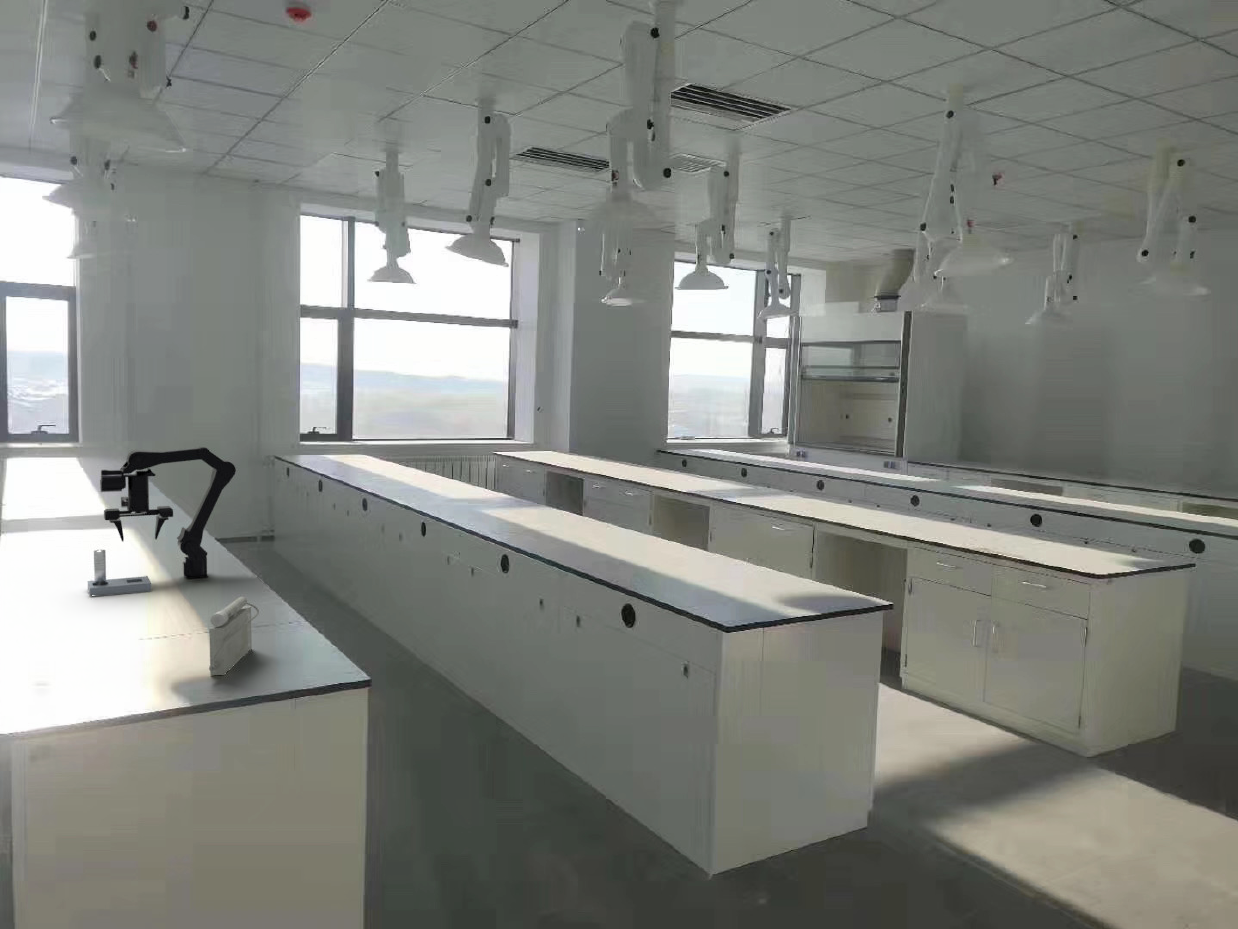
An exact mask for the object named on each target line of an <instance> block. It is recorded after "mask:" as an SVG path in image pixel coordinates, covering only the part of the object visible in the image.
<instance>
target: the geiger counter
mask: <svg viewBox="0 0 1238 929" xmlns="http://www.w3.org/2000/svg"><path fill="white" fill-rule="evenodd" d="M252 607H253V608H254V609H255V610H256V613H255V615H253V616H252ZM259 611H260V610H259V608H258V607H257V606H256V605H254V604H252V603H249V602H248V600H247V598H246V597H245V596H239V597H238V598H236V599H235V600H234V601H232V602H231V603H230V604H228V605H226V606H225V607H224V608H223V609H222V610H218V611H217V612H215V613H214V614H213V615H212V616H211V617H210V621H209V622H210V624H211V625H212V626H211V627H210V628H209V660H210V661H209V668H208V669H209V671H210V672H209V673H210V674H209V675H224V674H225V673H226V672H227V671H228V670H229V669H231V668H232V667H233V665H235V664H236V663H237V662H238V661H239V660H240V659H241V658H242V657H243V656H244V657H245V656H246V655H247V654H248V653H249V652H250V651H252V650H251V648H253V644H252V641H253V640H252V621H253V620H254V619H256V617H258V615H259V613H260V612H259ZM249 650H250V651H249ZM248 651H249V652H248ZM247 652H248V653H247ZM246 653H247V654H246ZM245 654H246V655H245ZM244 657H243V658H244ZM243 658H242V659H243ZM242 659H241V660H242ZM241 660H240V661H241ZM240 661H239V662H240ZM239 662H238V663H239ZM238 663H237V664H238ZM237 664H236V665H237ZM236 665H235V666H236ZM233 668H234V667H233ZM233 668H232V669H233ZM232 669H231V670H232ZM224 676H225V675H224Z"/></svg>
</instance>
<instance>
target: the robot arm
mask: <svg viewBox="0 0 1238 929" xmlns="http://www.w3.org/2000/svg"><path fill="white" fill-rule="evenodd" d="M197 460H198V461H199V460H201V461H203V462H204V463H205V464H207V465H208V466H209V467H211V468H212V471H211V475H210V481H209V486H208V488H207V489H206V492H205V494H204V496H203V498H202V500H201V502H200V504H199V506H198V509H197V510H196V513H195V515H194V517H193V518H192V521H191V523H190V524H189V525H188V526H187V528H186V527H183V526H182V527H181V530H180V533H179V535H178V536H177V537H176V539H177V547H178V549H179V550H180V551H181V553H182V554H184V555H185V556H184V557H183V558H184V560H183V561H182V575H183V576H184V578H186V579H187V580H188V579H197V578H196V577H201V578H208V577H209V574H208V557H207V556H208V551H206V550H205V548H203V547H202V546H201V545H202V542H203V535H204V530H205V527H206V526H207V523H208V521H209V519H210V517H211V515H212V513H213V510H214V508H215V506H216V504H217V502H218V500H219V497H220V496H221V494H222V492H223V490H224V488H225V487H226V486H227V485H228V484H229V483H230V481H231V480H232V479H233V477H234V476H235V474H236V471H237V468H236V466H235V464H234V463H232V462H230V461H229V460H227V459H221V458H220V457H219V456H217V455H216V454H214V453H213V452H211V451H210V449H209V448H207V447H205V446H198V447H190V448H180V449H171V450H169V449H168V450H162V451H156V450H148V449H147V450H146V449H145V450H144V449H134V450H131V451H130V452H128V454H127V456H126V462H124V464H123V465H121V468H120V469H101V471H100V480H99V487H100V488H99V489H100V493H110V492H111V493H116V492H123V490H124V489H126V486H127V496H121V497H120V507H121V508H126V510H120V509H119V507H118V508H105V509H104V510H103V519H104V520H105V521H108V522H109V523H111V524H114V525H115V527H116V529H117V532H118V535H119V538H120V539H121V542H124V538H125V537H124V532H123V531H124V530H123V525H122V520H121V517H140V516H141V517H142V516H143V517H144V516H155V529H154V540H158V537H159V535H160V531H161V529H162V527H163V525H164V523H165V522H166V521H168V520H169V518H174V509H173V508H172V507H171V506H170V505H164V506H163V505H160V506H157V507H156V508H154V509H151V508H150V486H149V481H150V480H149V477H156V473H155V472H153V471H152V469H151V468H153V467H155V466H156V467H157V466H158V465H162V464H169V463H170V464H171V463H179V462H180V463H181V462H187V461H188V462H189V461H197ZM145 469H146V470H145ZM133 472H135V473H133ZM186 579H185V580H186Z"/></svg>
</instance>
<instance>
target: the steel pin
mask: <svg viewBox="0 0 1238 929" xmlns="http://www.w3.org/2000/svg"><path fill="white" fill-rule="evenodd" d="M93 570H94V575H93V576H94V581H95V586H97V585H106V580H107V561H106V549H96V550H93Z"/></svg>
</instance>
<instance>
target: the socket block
mask: <svg viewBox="0 0 1238 929" xmlns="http://www.w3.org/2000/svg"><path fill="white" fill-rule="evenodd" d="M87 591H89V592H88V595H89V597H90V596H92V595H104V596H114V595H125V594H135V593H144V592H145V593H147V592H152V582H151V580H150V578H149V576H145V575H144V576H133V577H123V578H112V579H111V578H110V579H106V585H97V586H95V580H88V581H87Z"/></svg>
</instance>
